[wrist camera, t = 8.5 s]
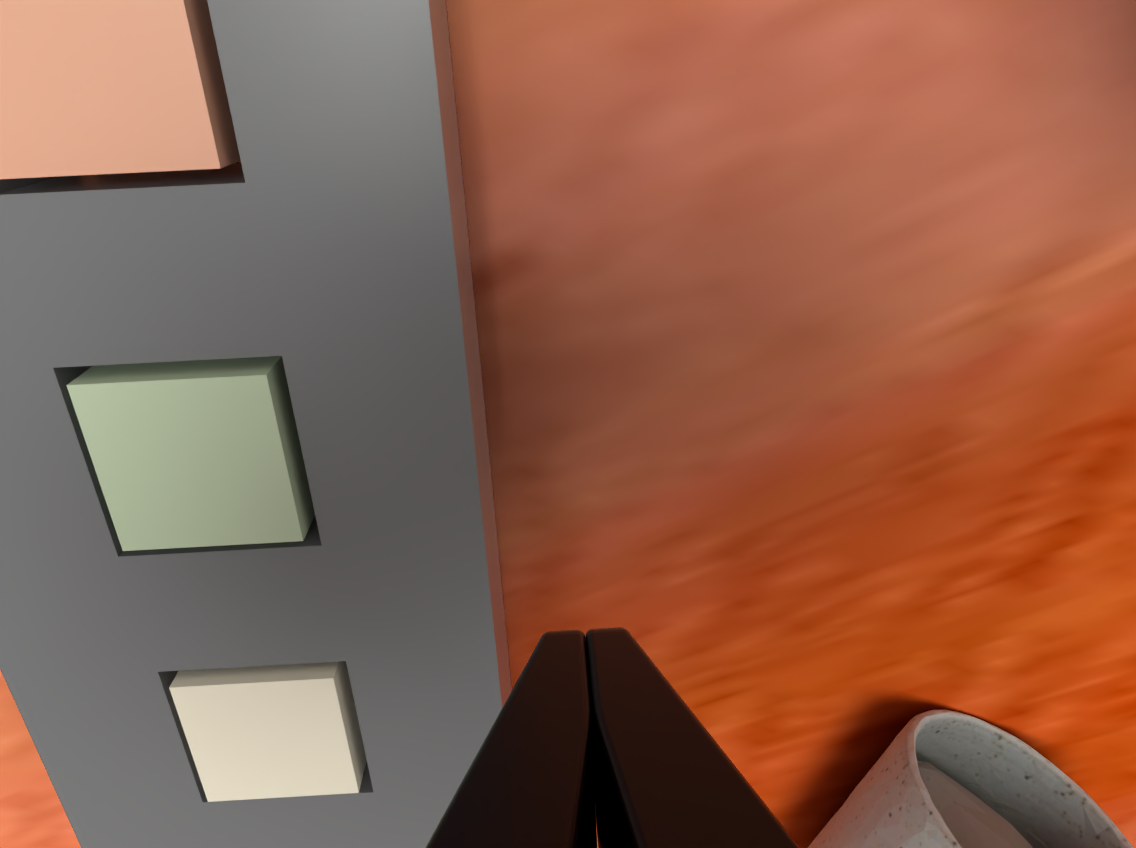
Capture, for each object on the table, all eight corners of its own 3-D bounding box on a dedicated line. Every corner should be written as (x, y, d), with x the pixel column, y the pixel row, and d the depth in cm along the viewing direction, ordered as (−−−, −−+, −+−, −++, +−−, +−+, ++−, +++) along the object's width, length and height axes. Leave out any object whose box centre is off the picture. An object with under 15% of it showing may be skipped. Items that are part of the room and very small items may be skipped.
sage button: (299, 333, 18) (266, 374, 16) (329, 484, 20) (303, 541, 18) (124, 343, 18) (66, 385, 16) (169, 493, 20) (122, 551, 18)
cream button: (354, 612, 22) (333, 678, 20) (375, 720, 24) (358, 792, 21) (207, 620, 22) (169, 687, 20) (239, 728, 23) (207, 801, 21)
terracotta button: (219, -74, 15) (162, -95, 13) (263, 151, 17) (220, 168, 14) (2, -64, 15) (-93, -83, 13) (69, 160, 17) (-4, 179, 14)
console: (419, -275, 14) (391, -348, 12) (519, 765, 26) (517, 850, 23) (-259, -247, 14) (-447, -314, 11) (141, 787, 25) (94, 876, 23)
